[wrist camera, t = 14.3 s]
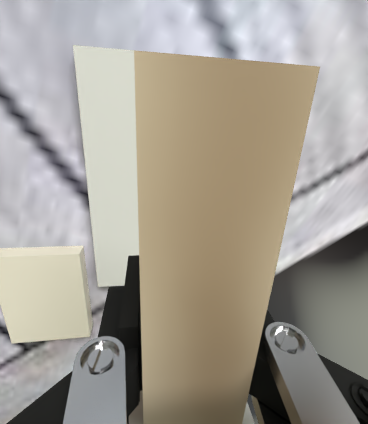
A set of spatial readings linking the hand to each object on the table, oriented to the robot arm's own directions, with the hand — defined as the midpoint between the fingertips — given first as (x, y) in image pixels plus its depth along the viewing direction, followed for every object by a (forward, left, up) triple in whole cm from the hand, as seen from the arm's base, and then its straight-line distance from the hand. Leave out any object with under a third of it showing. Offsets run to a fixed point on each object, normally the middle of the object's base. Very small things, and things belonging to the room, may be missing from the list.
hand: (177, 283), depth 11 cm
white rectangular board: (0, 0, -17) cm, 17 cm away
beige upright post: (0, 0, 0) cm, 0 cm away
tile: (-13, -7, -16) cm, 22 cm away
